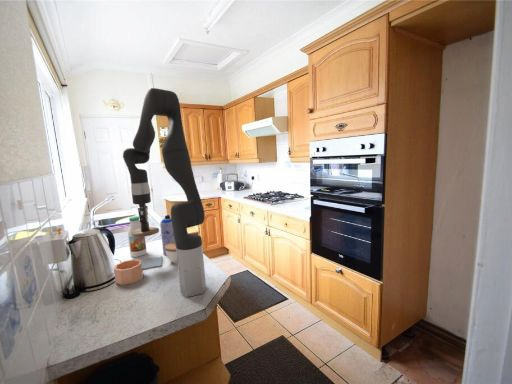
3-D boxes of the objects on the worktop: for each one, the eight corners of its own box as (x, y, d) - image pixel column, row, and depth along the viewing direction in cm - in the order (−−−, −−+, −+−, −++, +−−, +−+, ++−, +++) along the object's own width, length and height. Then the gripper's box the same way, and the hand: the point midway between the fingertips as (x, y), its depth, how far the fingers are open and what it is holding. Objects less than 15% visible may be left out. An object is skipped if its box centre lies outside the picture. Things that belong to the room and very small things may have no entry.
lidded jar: (183, 265, 117) (181, 246, 116) (162, 264, 119) (159, 245, 118) (193, 256, 127) (191, 238, 126) (173, 255, 130) (171, 237, 128)
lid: (158, 234, 115) (157, 223, 114) (130, 238, 111) (128, 227, 111) (159, 227, 126) (158, 217, 125) (133, 231, 122) (132, 221, 121)
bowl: (141, 281, 104) (140, 267, 104) (114, 286, 101) (112, 272, 100) (143, 270, 114) (142, 258, 113) (118, 275, 111) (116, 262, 110)
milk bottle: (127, 256, 132) (122, 218, 129) (139, 250, 139) (134, 214, 136) (138, 257, 129) (133, 219, 126) (150, 252, 136) (145, 215, 133)
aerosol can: (179, 254, 131) (175, 216, 128) (163, 257, 129) (159, 218, 125) (178, 249, 139) (174, 212, 136) (162, 251, 136) (158, 214, 133)
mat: (161, 266, 118) (161, 265, 118) (135, 271, 114) (135, 269, 114) (161, 257, 128) (161, 256, 128) (137, 261, 124) (137, 260, 124)
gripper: (148, 194, 110) (153, 232, 113) (150, 190, 124) (154, 224, 126) (129, 195, 108) (134, 235, 111) (133, 191, 121) (138, 226, 124)
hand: (145, 229), depth 118 cm, fingers closed on lid, 3 cm apart
